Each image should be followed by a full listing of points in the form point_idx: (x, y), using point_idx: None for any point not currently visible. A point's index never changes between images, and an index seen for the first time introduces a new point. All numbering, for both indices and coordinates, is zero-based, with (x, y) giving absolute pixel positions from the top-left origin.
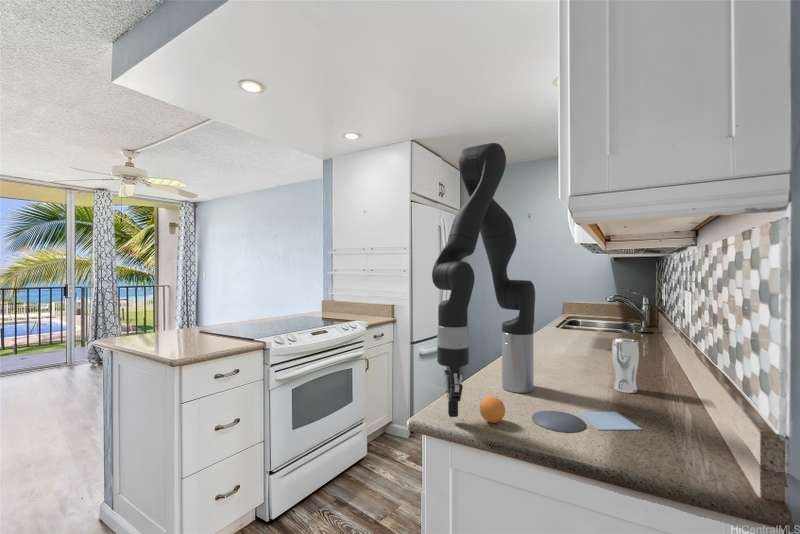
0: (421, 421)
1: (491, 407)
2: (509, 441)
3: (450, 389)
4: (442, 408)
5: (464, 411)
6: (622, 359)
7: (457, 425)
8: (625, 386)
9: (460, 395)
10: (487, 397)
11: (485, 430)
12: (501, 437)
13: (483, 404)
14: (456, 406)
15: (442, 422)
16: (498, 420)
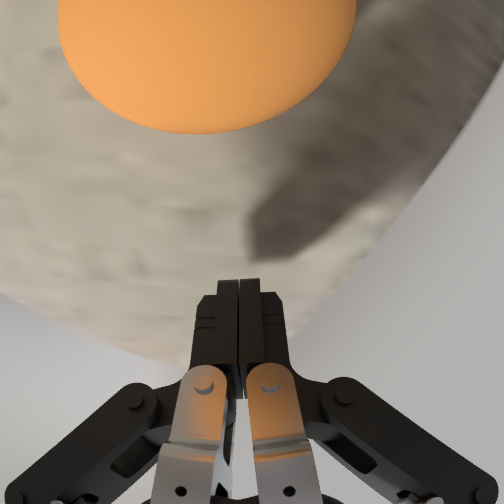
0: None
1: (349, 30)
2: (488, 26)
3: (388, 496)
4: (74, 298)
5: (68, 197)
6: None
7: (283, 250)
8: None
9: (422, 433)
10: (162, 47)
11: (365, 98)
12: (453, 41)
13: (264, 112)
14: (285, 343)
15: None
16: None
